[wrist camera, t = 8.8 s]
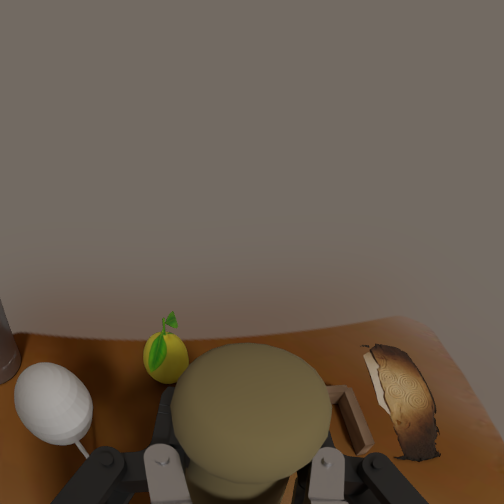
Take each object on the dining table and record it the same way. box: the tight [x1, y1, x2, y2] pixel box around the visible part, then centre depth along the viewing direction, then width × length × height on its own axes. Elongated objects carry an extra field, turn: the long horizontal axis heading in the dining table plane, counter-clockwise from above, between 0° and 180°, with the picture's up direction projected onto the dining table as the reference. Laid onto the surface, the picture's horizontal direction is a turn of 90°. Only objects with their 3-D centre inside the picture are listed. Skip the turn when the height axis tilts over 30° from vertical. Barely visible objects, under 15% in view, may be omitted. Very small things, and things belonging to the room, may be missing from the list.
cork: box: [170, 343, 332, 504], centre depth 9 cm, size 6×6×11 cm
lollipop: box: [14, 362, 93, 458], centre depth 14 cm, size 6×6×15 cm
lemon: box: [143, 311, 189, 384], centre depth 30 cm, size 7×6×10 cm
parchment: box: [360, 344, 441, 462], centre depth 31 cm, size 25×10×1 cm, turn 174°
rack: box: [326, 385, 375, 455], centre depth 25 cm, size 19×12×2 cm, turn 93°
